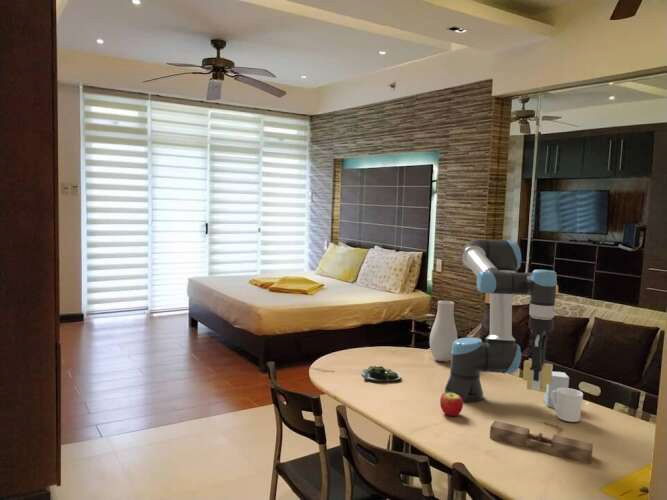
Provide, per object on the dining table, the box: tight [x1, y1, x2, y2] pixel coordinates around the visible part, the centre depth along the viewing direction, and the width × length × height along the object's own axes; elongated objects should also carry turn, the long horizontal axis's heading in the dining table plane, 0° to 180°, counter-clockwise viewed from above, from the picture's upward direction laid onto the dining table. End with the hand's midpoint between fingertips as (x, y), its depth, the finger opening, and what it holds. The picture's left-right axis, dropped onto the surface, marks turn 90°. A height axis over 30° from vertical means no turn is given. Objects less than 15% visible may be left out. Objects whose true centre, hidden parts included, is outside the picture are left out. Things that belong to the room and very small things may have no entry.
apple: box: [439, 387, 464, 417], centre depth 190 cm, size 8×8×10 cm
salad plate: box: [360, 365, 402, 384], centre depth 232 cm, size 19×18×5 cm
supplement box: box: [543, 370, 570, 409], centre depth 206 cm, size 7×7×13 cm
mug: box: [551, 387, 584, 424], centre depth 192 cm, size 11×9×10 cm
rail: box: [489, 420, 594, 465], centre depth 167 cm, size 30×6×4 cm, turn 60°
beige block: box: [522, 359, 554, 393], centre depth 169 cm, size 8×3×9 cm, turn 59°
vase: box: [429, 300, 459, 363], centre depth 261 cm, size 14×14×30 cm
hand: (536, 388), depth 169 cm, fingers closed on beige block, 3 cm apart
